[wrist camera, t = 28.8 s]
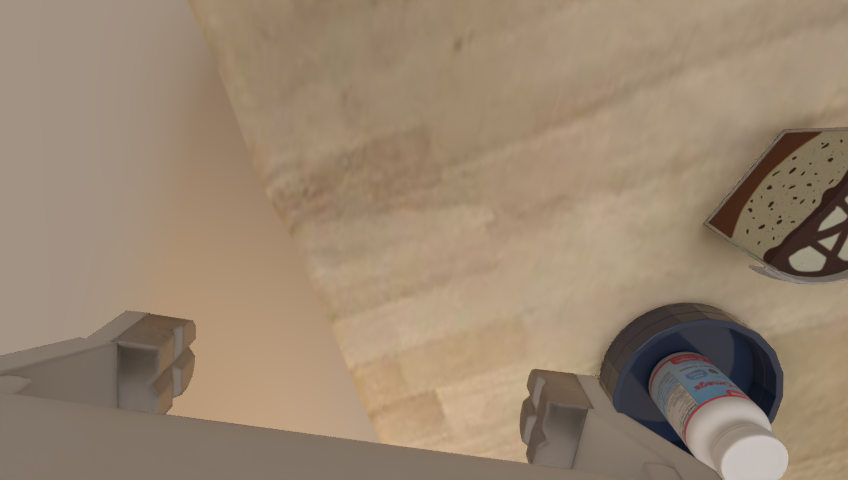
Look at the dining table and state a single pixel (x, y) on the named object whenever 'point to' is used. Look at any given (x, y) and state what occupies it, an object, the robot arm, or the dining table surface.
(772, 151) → the food container
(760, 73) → the dining table surface
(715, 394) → the pill bottle
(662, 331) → the pan
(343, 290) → the dining table surface
